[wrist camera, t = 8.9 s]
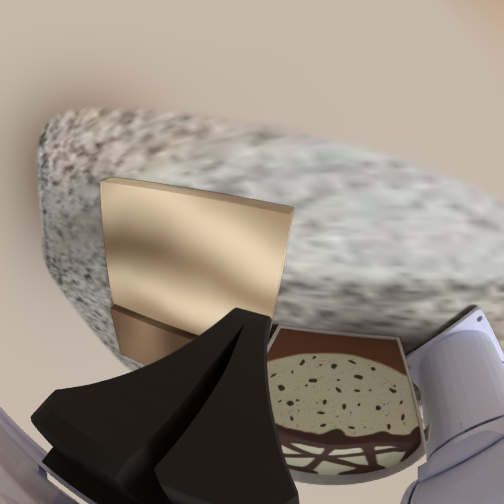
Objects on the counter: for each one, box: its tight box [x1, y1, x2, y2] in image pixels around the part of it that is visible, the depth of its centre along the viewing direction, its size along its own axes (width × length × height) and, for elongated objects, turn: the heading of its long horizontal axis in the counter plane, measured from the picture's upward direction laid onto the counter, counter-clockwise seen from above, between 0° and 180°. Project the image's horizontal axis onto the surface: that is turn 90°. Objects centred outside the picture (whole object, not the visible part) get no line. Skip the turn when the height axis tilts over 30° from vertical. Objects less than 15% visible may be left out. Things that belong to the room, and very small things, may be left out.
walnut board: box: [110, 304, 199, 366], centre depth 25 cm, size 15×6×2 cm, turn 84°
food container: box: [267, 324, 432, 485], centre depth 17 cm, size 12×6×10 cm, turn 92°
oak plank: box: [100, 177, 294, 344], centre depth 21 cm, size 11×14×2 cm
